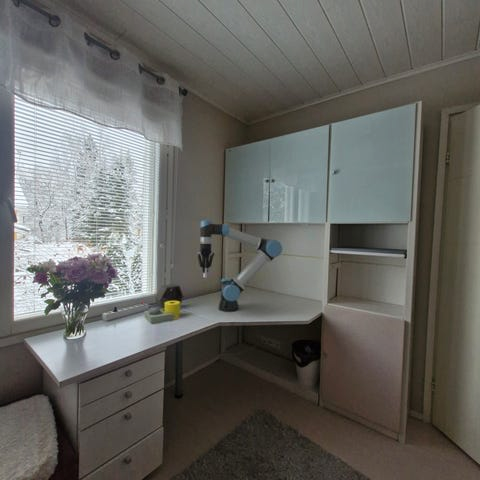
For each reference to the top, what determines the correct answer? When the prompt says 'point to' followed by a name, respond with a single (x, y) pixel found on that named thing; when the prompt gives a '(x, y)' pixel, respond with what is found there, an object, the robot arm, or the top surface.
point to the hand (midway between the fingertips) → (205, 277)
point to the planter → (168, 295)
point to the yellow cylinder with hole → (173, 308)
